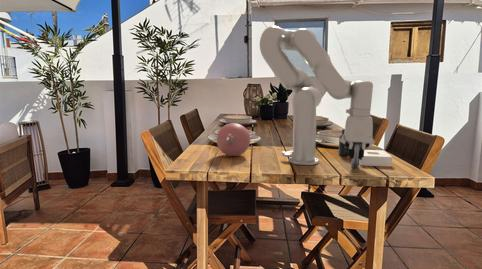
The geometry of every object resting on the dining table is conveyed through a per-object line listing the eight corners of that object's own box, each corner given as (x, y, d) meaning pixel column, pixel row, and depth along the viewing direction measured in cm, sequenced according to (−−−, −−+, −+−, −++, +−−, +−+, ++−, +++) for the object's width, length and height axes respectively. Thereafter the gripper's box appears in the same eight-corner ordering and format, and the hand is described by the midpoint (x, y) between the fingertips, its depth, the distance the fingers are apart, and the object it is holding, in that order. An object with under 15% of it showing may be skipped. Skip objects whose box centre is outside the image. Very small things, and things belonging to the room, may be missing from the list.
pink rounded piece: (208, 161, 137) (207, 126, 134) (223, 151, 156) (222, 120, 153) (242, 163, 132) (242, 127, 130) (253, 153, 151) (253, 121, 149)
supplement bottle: (356, 154, 148) (357, 129, 146) (349, 157, 143) (351, 131, 141) (342, 152, 153) (343, 128, 151) (335, 155, 148) (337, 129, 146)
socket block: (360, 165, 130) (360, 155, 129) (355, 158, 142) (355, 149, 141) (391, 166, 128) (392, 157, 127) (383, 159, 140) (384, 150, 139)
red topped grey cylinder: (349, 167, 125) (352, 137, 123) (347, 164, 129) (350, 135, 127) (361, 168, 124) (364, 138, 122) (359, 164, 129) (362, 136, 126)
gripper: (339, 113, 120) (335, 159, 124) (384, 115, 118) (379, 162, 121) (336, 111, 128) (333, 155, 131) (379, 112, 125) (374, 157, 129)
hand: (355, 158), depth 126 cm, fingers closed on red topped grey cylinder, 3 cm apart
